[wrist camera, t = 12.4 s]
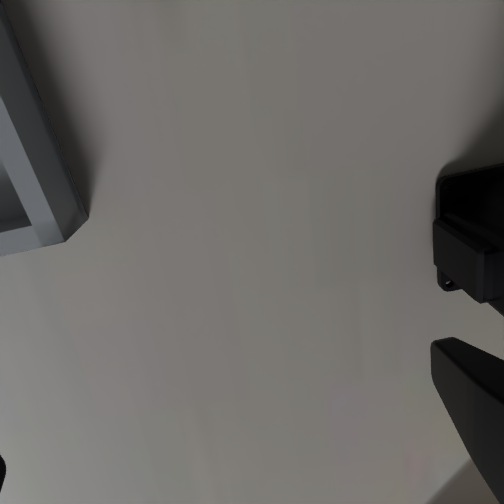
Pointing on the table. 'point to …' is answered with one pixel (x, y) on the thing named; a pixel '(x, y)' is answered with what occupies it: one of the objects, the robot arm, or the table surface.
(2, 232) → the tray
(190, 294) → the table surface
